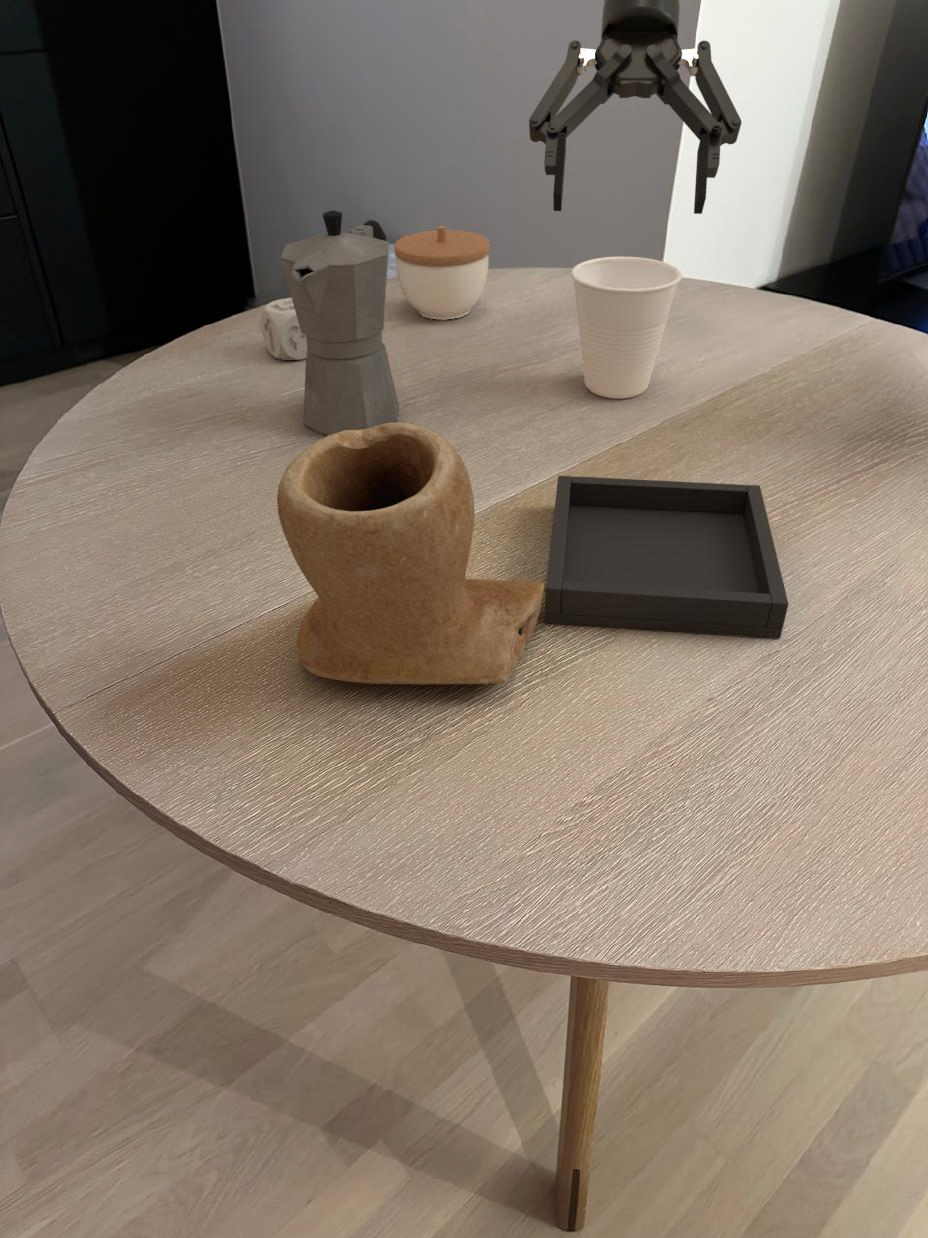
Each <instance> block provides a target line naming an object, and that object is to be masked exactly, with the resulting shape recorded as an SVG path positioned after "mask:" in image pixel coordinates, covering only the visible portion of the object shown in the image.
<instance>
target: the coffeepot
mask: <svg viewBox="0 0 928 1238" xmlns="http://www.w3.org/2000/svg"><path fill="white" fill-rule="evenodd" d="M322 218H323V222H324V225H325V229H326V232H327V233H325V234H320V235H316V236H312V237H308V238H306V239H302V240H298V241H294V242H290V243H287V244H285V246H284V248H283V251H282V253H281V256H280V260H281V264H282V268H283V272H284V275H285V279H286V283H287V286H288V290H289V293H290V298H292V301H293V304H294V308H295V312H296V315H297V319H298V323H299V326H300V330H301V333H303V334H305V335H306V341H307V353H306V359H305V372H304V373H305V374H304V398H303V418H302V419H303V420H302V423H303V425H305V426H306V427H308V428H309V429H310V430H312V431H313V432H315V433H318V434H321V435H323V436H328V435H332V434H335V433H338V432H341V431H345V430H362V429H368V428H372V427H374V426H378V425H381V424H386V423H397V422H398V420H399V405H400V404H399V400H398V395H397V391H396V386H395V383H394V378H393V375H392V370H391V365H390V362H389V357H388V354H387V350H386V345H385V343H383V334H382V333H383V332H382V331H383V330H384V325H385V324H384V323H385V308H386V294H387V280H388V279H387V277H388V263H389V249H390V242H389V241H388V239H387V236H386V234H385V232H384V230H383V228H382V227H381V225H380V223H379V222H378V221H376V220H373V219H372V220H371V219H369V220H367V221H365V222H364V223H363V224H361V225H359V224H358V225H356V226H354V227H352V228H350V233H348V232H342V220H343V212H341V211H337V210H334V209H333V210H328V211H325V212H323V213H322Z"/></svg>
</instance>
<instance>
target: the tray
mask: <svg viewBox="0 0 928 1238" xmlns="http://www.w3.org/2000/svg"><path fill="white" fill-rule="evenodd" d="M761 488H762V487H761V486H760V485H757V484H736V483H735V484H733V483H717V482H716V483H715V482H698V481H697V482H695V481H691V482H690V481H674V480H655V479H654V480H653V479H635V478H615V477H596V476H595V477H592V476H573V475H572V476H571V475H558V476H557V483H556V491H555V492H556V493H555V500H554V501H555V504H554V511H553V519H552V520H553V522H552V529H551V537H550V545H549V546H550V547H549V554H548V555H549V557H548V566H547V575H546V582H545V583H546V584H545V595H544V596H545V598H544V599H545V600H544V621H543V622H544V623H545V624H558V625H571V626H572V625H573V626H587V627H601V628H603V627H604V628H616V629H629V630H630V629H631V630H643V631H645V630H647V631H661V632H674V633H687V634H689V633H691V634H704V635H705V634H706V635H720V636H734V637H748V638H749V637H750V638H765V639H778V640H779V639H781V637H782V632H783V628H784V625H785V620H786V616H787V611H788V607H789V601H788V596H787V592H786V588H785V584H784V580H783V575H782V572H781V568H780V563H779V558H778V555H777V551H776V546H775V542H774V539H773V534H772V530H771V526H770V521H769V517H768V513H767V510H766V505H765V502H764V497H763V492H762V489H761Z"/></svg>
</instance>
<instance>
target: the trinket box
mask: <svg viewBox="0 0 928 1238" xmlns="http://www.w3.org/2000/svg"><path fill="white" fill-rule="evenodd" d="M393 247H394V255H395V263H396V271H397V278H398V283H399V285H400V289H401V292H402V293H403V296H404V297H405V300H407V302H408V303H409V304H410V305H411V307H413V308H414V309H415V310H416V311H417V313H418V312H419V313H420V314H421V315H422V316H424V317H427V318H431V319H430V320H432V319H437V320H436V321H448V320H447V319H453V320H455V319H454V318H458V317H462V316H464V315H466V314H468V313H469V312H470V313H471V309H473V308H474V307H475V305H477V303H478V302H479V301H480V299H481V297H482V296H483V295H484V292H485V289H486V286H487V282H488V277H489V276H488V275H489V264H490V252H491V243H490V240H489V239H488V238H487V237H485V236H484V235H481V234H479V233H475V232H470V231H467V230H457V229H447V226H445V225H438V226H437V227H436V229H435V230H425V231H419V232H414V233H410V234H408V235H407V234H406V235H404V236H403V237H401V238H398V239H397V240H396V241H395V243H394V245H393ZM419 313H418V314H419ZM470 313H469V314H470ZM469 314H468V315H469ZM422 316H421V317H422ZM466 316H467V315H466ZM424 317H423V318H424ZM464 317H465V316H464ZM427 318H426V319H427ZM462 318H463V317H462ZM439 319H441V320H439ZM458 319H459V318H458Z"/></svg>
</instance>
